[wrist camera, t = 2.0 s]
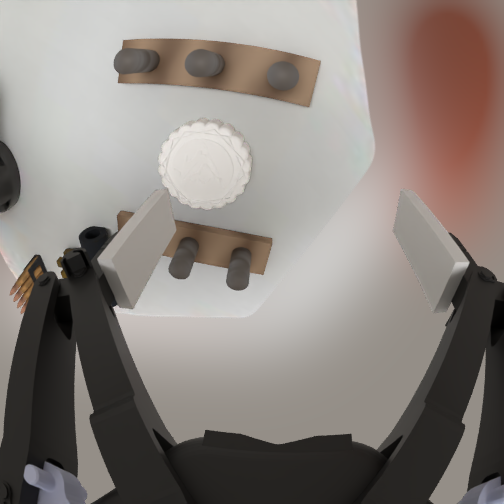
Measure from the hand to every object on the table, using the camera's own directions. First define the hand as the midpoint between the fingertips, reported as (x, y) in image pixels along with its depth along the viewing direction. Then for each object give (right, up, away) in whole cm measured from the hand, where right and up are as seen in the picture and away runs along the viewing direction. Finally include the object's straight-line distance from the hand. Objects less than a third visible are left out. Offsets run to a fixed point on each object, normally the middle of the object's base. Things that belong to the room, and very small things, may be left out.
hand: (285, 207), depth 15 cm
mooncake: (-8, +10, +21) cm, 24 cm away
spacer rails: (-9, +10, +21) cm, 24 cm away
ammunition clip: (-49, -7, +36) cm, 61 cm away
